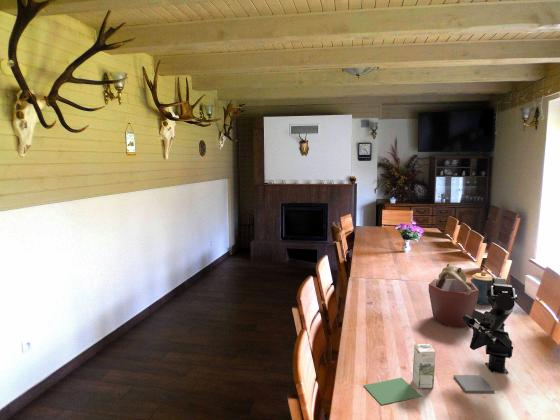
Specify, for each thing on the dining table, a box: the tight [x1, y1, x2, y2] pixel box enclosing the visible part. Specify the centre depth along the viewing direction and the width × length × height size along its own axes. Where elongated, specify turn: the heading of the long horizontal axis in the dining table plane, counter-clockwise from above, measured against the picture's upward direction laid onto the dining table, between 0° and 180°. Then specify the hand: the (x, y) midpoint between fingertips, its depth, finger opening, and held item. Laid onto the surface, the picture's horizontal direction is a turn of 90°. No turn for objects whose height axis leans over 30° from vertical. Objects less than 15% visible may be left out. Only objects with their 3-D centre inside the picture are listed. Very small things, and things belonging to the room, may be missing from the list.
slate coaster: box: [453, 374, 495, 394], centre depth 144 cm, size 10×10×1 cm
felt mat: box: [363, 377, 423, 406], centre depth 141 cm, size 16×12×1 cm
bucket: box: [428, 271, 479, 329], centre depth 198 cm, size 24×22×25 cm
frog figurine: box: [438, 263, 467, 282], centre depth 261 cm, size 14×18×12 cm
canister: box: [469, 270, 495, 306], centre depth 226 cm, size 13×13×18 cm
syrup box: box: [412, 343, 437, 389], centre depth 144 cm, size 6×6×14 cm
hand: (471, 348), depth 143 cm, fingers closed
